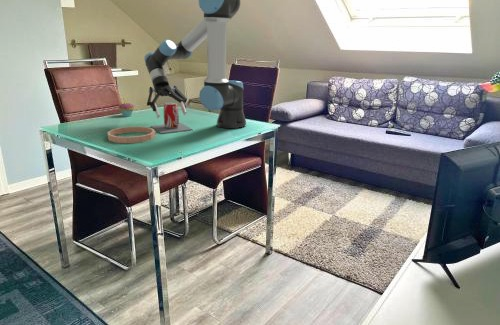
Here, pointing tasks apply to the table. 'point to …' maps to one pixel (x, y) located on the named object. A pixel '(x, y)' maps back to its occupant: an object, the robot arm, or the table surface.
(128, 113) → the cupcake
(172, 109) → the soda can
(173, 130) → the rubber mat
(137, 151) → the table surface
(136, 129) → the orange-brown ring
